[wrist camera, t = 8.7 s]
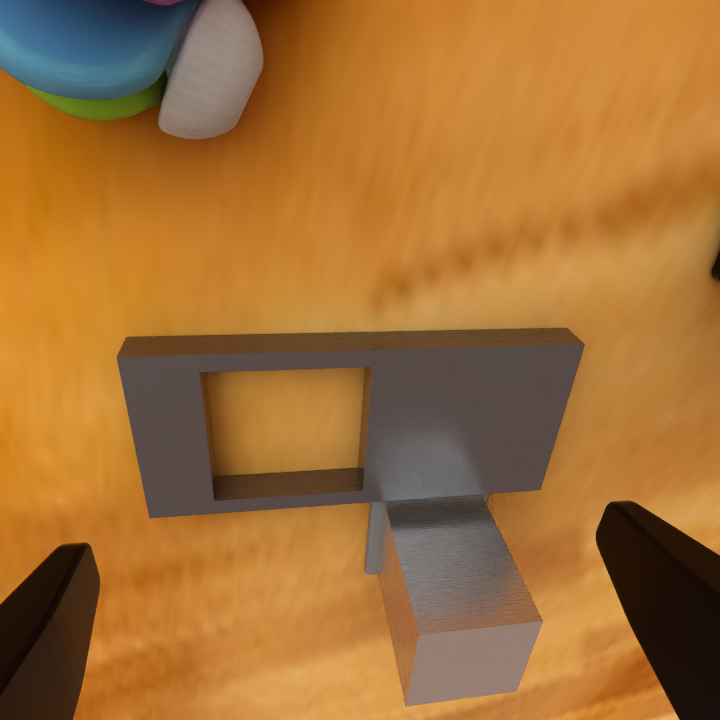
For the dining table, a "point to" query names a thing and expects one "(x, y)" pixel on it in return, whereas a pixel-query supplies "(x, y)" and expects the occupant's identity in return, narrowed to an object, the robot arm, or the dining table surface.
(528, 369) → the plate with rectangular hole
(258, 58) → the rainbow dome toy
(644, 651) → the robot arm
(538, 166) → the dining table surface
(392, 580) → the brushed metal block
